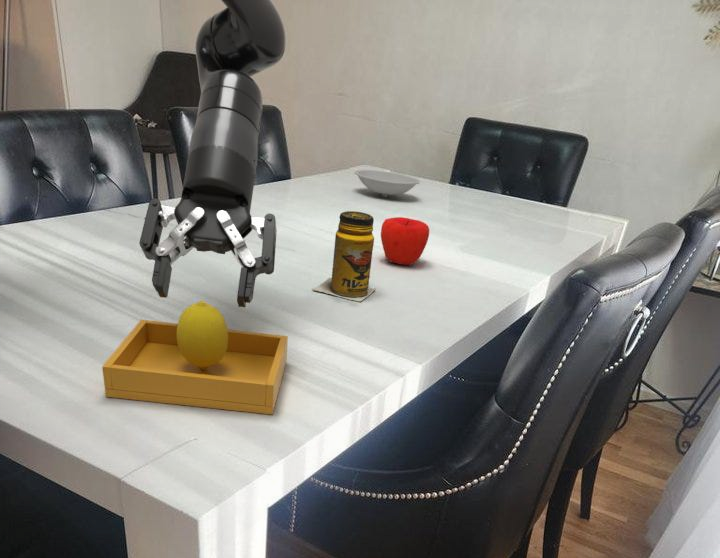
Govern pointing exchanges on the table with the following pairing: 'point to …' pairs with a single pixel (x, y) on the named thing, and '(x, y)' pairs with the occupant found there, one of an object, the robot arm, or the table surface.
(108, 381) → the yellow tray
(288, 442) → the table surface
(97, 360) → the table surface
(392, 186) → the dish
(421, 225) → the apple
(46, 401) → the table surface
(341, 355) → the table surface
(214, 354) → the lemon
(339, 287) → the condiment
